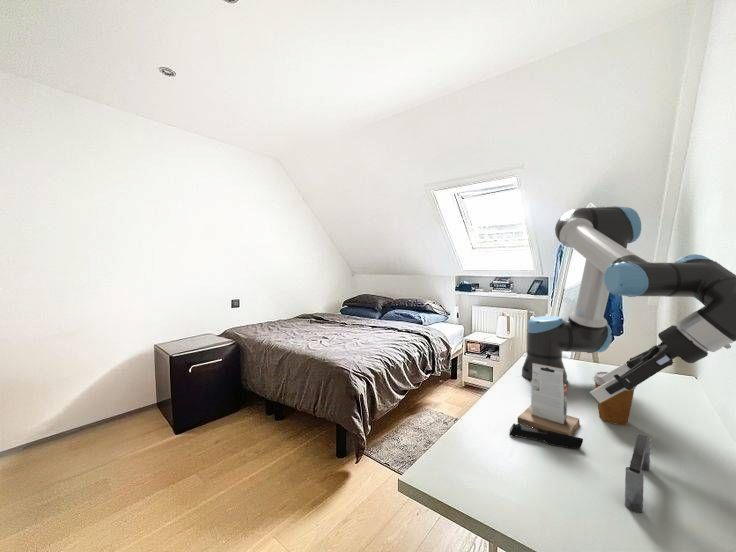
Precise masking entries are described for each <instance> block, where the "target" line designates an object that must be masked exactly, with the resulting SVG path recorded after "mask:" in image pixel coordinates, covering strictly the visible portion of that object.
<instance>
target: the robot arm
mask: <svg viewBox="0 0 736 552" xmlns="http://www.w3.org/2000/svg"><path fill="white" fill-rule="evenodd" d="M641 221H642V220H641V218H640V216H639V213H638V212H637V211H636V210H635V209H634V208H632V207H630V206H615V205H614V206H597V207H594V206H593V207H579V208H574V209H571V210H569V211H567V212H565V213H564V214H562V215H561V217H560V218H559V219H558V220H557V221H556V224H555V228H554V233H555V234H554V235H555V236H556V239H557V240H558V241H559V242H560V243H561V244H562V245H563V246H565V247H567V248H572V249H574V250H575V251H576V252H577V253H578V254H580V255H581V256H582V257H583V258H584V259H585V263H584V268H583V273H582V277H581V282H580V287H579V291H578V295H577V300H576V305H575V310H574V311H573V312H570V313H569V316H568V320H564V319H563V318H562V317H560V316H556V315H551V316H550V315H542V316H534V317H532V318H530V319H529V320H528V322H527V329H526V332H527V342H526V343H527V345H526V346H527V347H526V348H527V349H526V351H527V352H526V353H527V354H526V357H525V360H524V362H523V365H522V368H521V375H522V376H523V377H524V378H525V377H526V378H525V379H527V380H529V379H530V380H529V381H532V363H536V364H541V365H547V366H552V367H557V368H562V369H564V379H563V383H564V384H567V382H568V374H567V371H566V368H565V365H564V362H563V353H564V352H569V353H587V354H594V353H595V354H596V353H598V354H599V353H602V352H605V351H607V349H608V348H610V346H611V344H612V341H613V335H612V332H613V331H612V329H611V327H610V325H609V324H608V321H607V319H606V318H605V317H604V315H605V312H606V308H607V305H608V304H607V303H608V301H609V296H610V294H612V295H614V296H620V297H621V296H623V297H627V298H628V297H629V298H634V297H635V298H636V297H669V298H670V297H673V298H674V297H675V298H678V297H679V298H694V299H696V300H697V301H699V303H701V304H702V305H703V306H702V307H701V308H700V309H698V310H695V311H694V312H691V313H690V314H688V315H687V316H686V317H684V318H683V317H682V319H680V320H678V321H677V325H670V326H669V327H667V328H665V329H664V330H662V331H660V332H659V333H658V338H659V339H660V341H661V342H660V343H659V344H657V345H653V346H652V347H651V348H649V349H648V350H645V351H643V352H641V353H639V354H637V355H635V356H633V357H630V358H629V359H628V360H627V361H626V362H625V363H623V364H621V365H618V366H616V367H615V368H614V369H612V370H610V371H608V372H609V373H607V374H605V375H603V376H602V377H601V378H602V379H603V380H604V381H605V382H606V383H605V384H603V385H601V386H600V387H598V388H596V387H595V388H594V389H592V390H591V391H589V393H590V394H591V396H592V397H593V398H595V400H597V401H598V402H599V403H601V402H603V401H605V400H607V399H609V398H611V397H613V396H615V395H617V394H619V393H620V392H622V391H624V390H626V389H628V390H632V389H633V388H634V387H635V386H639V385H641V384H642V383H643V382H645V381H646V380H648V379H650V378H651V377H653V376H655V375H656V374H658V373H660V372H661V371H662V370H664V369H666V368H668V367H670V366H672V365H673V364H674V359H675V358H680V359H681V360H682V361H684V362H686V363H688V364H695V363H696V362H698V361H699V360H702V359H705V358H706V357H708V356H709V355H708V354H709V352H711V353H715V352H717V351H719V350H721V349H723V348H725V349H727V350H728V349H729V350H730V349H731V348H732V345H731V344H732V343H734V342H736V274H735V273H733V272H732V271H730V270H728V268H726V267H724V266H723V265H722V264H721V263H719V262H717V261H715V260H713V259H711V258H709V257H707V256H705V255H702V254H693V253H692V254H688V255H686V256H681V257H679V258H678V259H677V260H675V261H674V262H649V261H647V260H645V259H644V258H642V257H640V256H639V255H637V254H635V253H634V252H632V251H630V250H629V249H627V247H628V245H629V244H631V243H634V242H635V241H637V240H638V239H639V237H640V236H641V232H642V222H641ZM541 370H544V371H548V372H554V370H552V369H549V368H541ZM626 379H627V380H628V381H629V382H630V383H629V382H628V381H627V380H626Z"/></svg>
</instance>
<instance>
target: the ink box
mask: <svg viewBox="0 0 736 552" xmlns="http://www.w3.org/2000/svg"><path fill="white" fill-rule="evenodd" d="M541 368H549V369H552V370H554V372H548V371H544V370H541ZM563 379H564V369H562V368H557V367H552V366H547V365H541V364H536V363H532V380H530V381H531V382H530V383H531V384H530V386H531V387H530V388H531V390H530V391H531V395H530V400H531V401H530V404H531V405H530V406H531V415H534V416H537V417H540V418H543V419H546V420H550V421H553V422H556V423H560V424H564V423H565V421H566V419H567V413H568V411H567V410H568V409H567V407H568V405H567V404H568V401H567V400H568V395H567V394H568V384H567V383H563Z"/></svg>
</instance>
